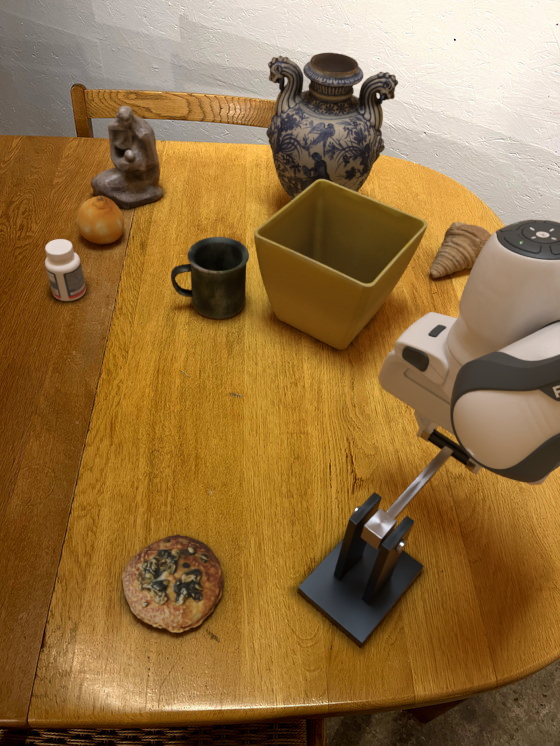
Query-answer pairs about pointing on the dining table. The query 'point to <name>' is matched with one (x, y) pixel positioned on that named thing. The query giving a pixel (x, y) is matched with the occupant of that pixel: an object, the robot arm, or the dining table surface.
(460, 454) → the lever
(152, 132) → the figurine
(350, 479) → the dining table surface
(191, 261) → the mug
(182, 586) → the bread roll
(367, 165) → the decorative vase
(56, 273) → the pill bottle
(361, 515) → the bracket
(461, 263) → the seashell
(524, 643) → the dining table surface
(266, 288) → the flower pot
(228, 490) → the dining table surface
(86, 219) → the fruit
